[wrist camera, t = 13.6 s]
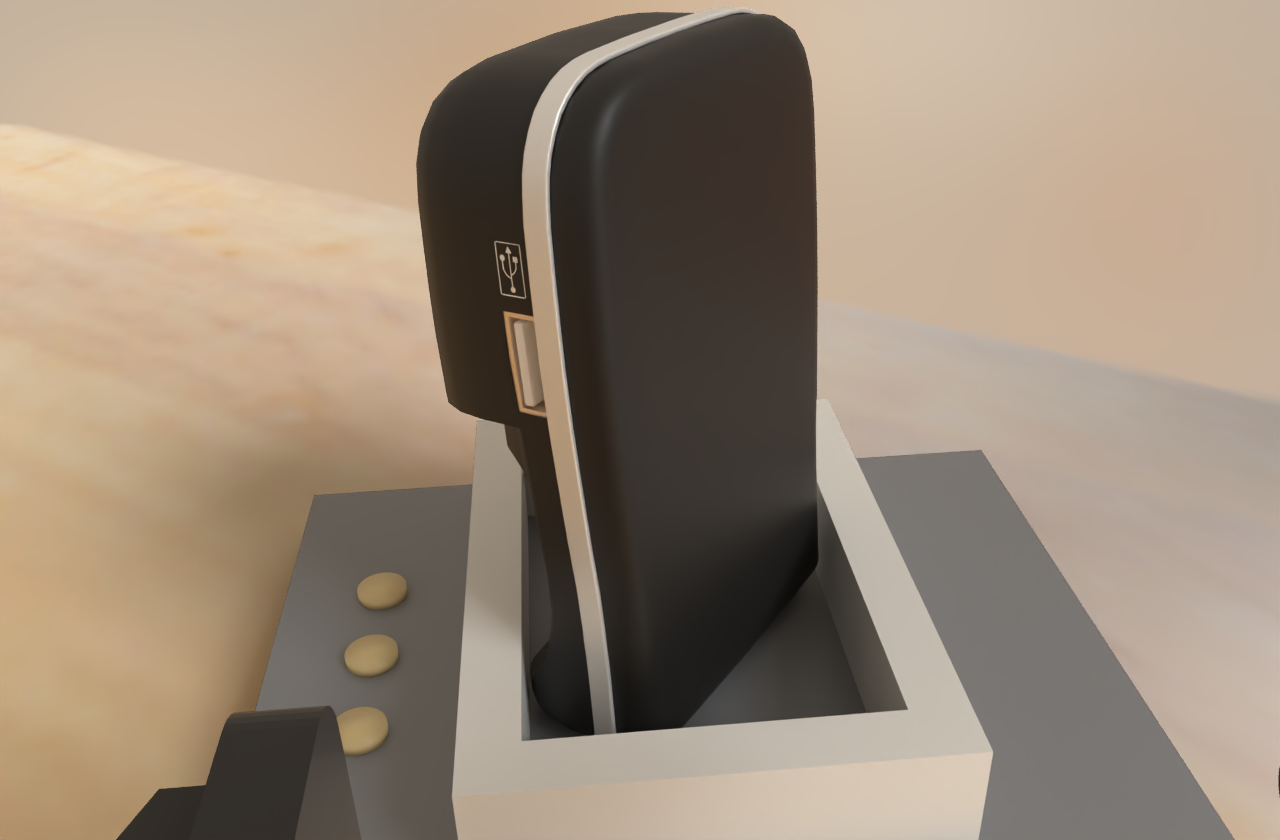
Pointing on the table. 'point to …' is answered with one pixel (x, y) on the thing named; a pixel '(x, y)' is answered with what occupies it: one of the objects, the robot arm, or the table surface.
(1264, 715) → the table surface
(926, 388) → the table surface
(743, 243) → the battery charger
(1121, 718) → the charging dock
